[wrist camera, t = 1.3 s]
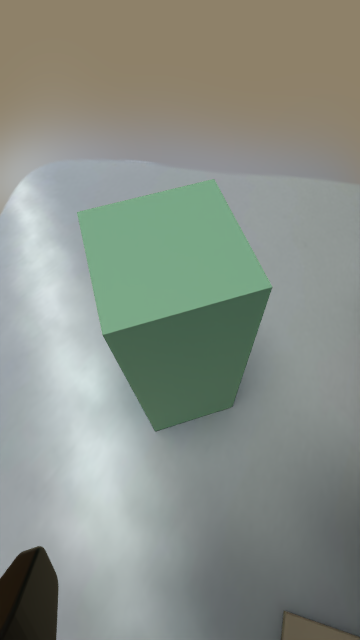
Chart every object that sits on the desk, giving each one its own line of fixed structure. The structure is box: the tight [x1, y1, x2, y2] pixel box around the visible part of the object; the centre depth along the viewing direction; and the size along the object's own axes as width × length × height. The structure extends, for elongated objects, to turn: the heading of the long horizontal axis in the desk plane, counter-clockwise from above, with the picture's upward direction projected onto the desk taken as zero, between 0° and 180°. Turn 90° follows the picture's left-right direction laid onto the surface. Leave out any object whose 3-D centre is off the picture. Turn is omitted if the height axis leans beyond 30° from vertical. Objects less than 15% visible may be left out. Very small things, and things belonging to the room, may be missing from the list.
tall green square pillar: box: [77, 179, 272, 431], centre depth 16 cm, size 5×5×13 cm
